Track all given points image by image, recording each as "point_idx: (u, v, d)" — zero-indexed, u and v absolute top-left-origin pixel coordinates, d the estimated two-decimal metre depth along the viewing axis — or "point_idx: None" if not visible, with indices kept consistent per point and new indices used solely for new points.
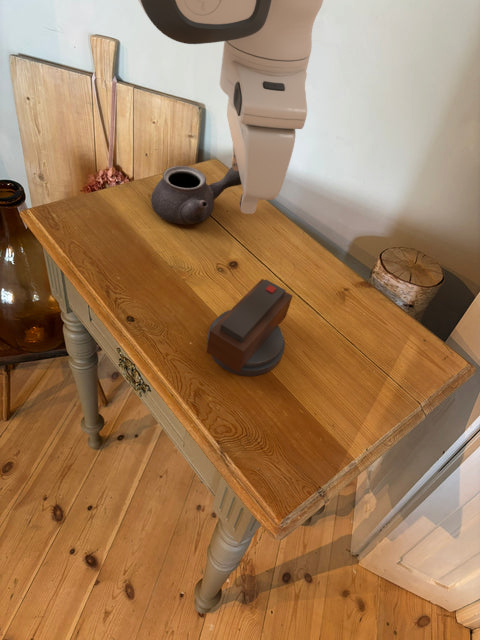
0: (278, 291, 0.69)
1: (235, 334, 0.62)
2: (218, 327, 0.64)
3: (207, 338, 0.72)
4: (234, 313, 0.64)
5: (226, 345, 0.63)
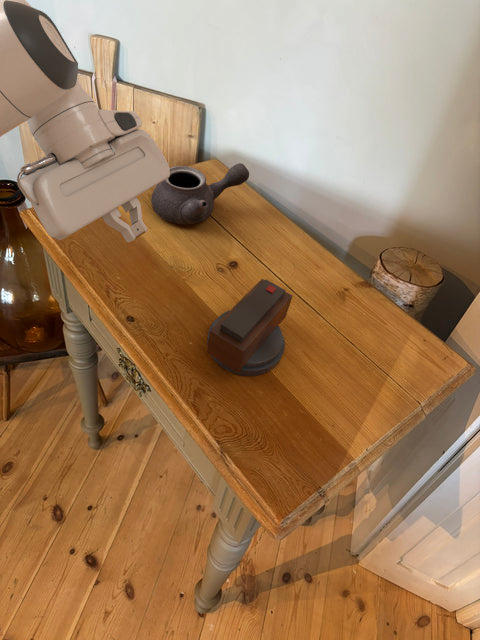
0: (278, 291, 0.69)
1: (235, 334, 0.62)
2: (218, 327, 0.64)
3: (207, 338, 0.72)
4: (234, 313, 0.64)
5: (226, 345, 0.63)
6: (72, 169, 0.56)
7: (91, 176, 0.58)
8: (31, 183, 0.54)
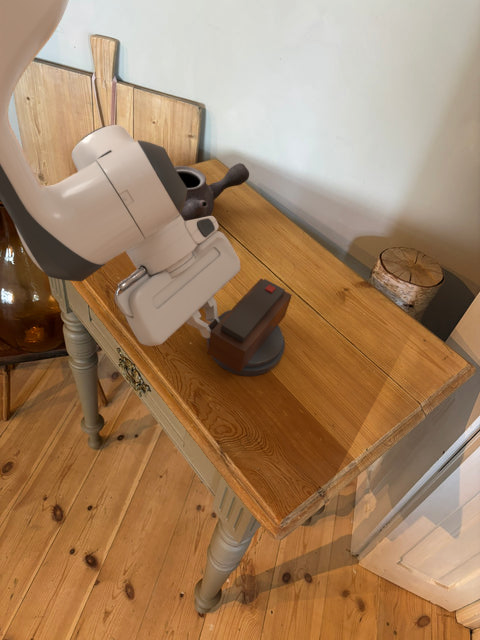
0: (277, 290, 0.69)
1: (236, 335, 0.62)
2: (219, 328, 0.64)
3: (207, 338, 0.72)
4: (234, 313, 0.64)
5: (227, 345, 0.63)
6: (162, 281, 0.59)
7: (177, 284, 0.61)
8: (127, 298, 0.57)
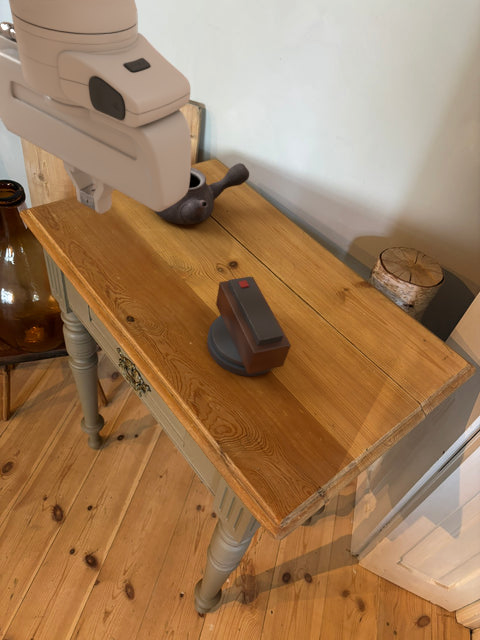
0: (248, 281, 0.69)
1: (275, 338, 0.63)
2: (254, 345, 0.63)
3: (207, 338, 0.72)
4: (253, 324, 0.64)
5: (272, 352, 0.63)
6: None
7: (53, 108, 0.39)
8: (2, 48, 0.40)
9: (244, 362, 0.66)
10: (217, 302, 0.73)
